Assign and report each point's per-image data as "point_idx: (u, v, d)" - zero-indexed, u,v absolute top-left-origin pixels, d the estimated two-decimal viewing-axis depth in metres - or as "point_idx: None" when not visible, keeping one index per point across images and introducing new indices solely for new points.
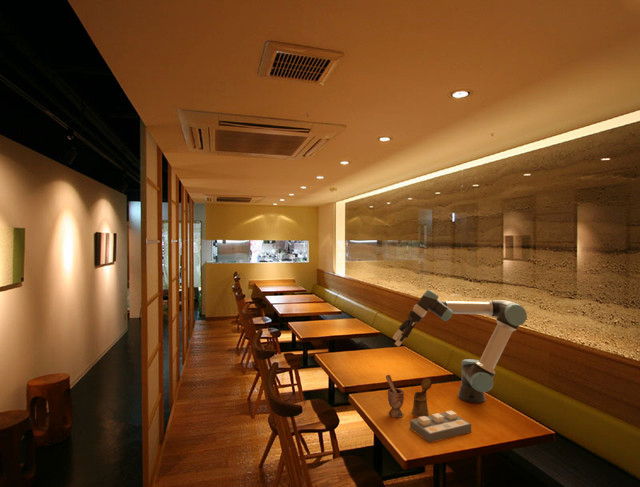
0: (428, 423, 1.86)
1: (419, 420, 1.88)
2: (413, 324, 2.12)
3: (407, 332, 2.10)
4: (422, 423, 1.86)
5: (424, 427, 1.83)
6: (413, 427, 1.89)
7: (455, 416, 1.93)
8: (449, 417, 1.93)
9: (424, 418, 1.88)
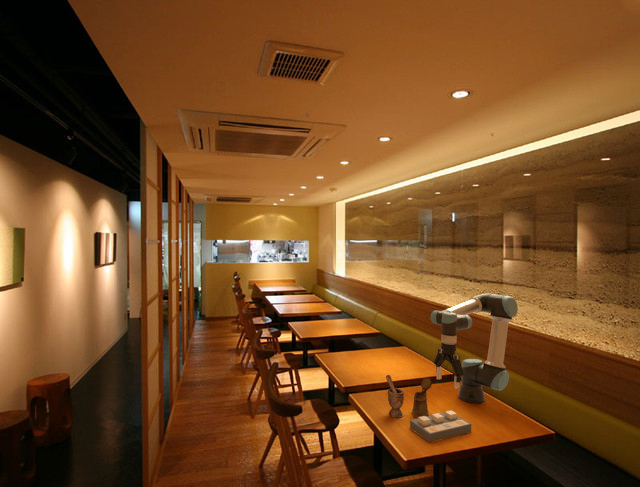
0: (428, 423, 1.86)
1: (419, 420, 1.88)
2: (458, 357, 1.89)
3: (460, 370, 1.87)
4: (422, 423, 1.86)
5: (424, 427, 1.83)
6: (413, 427, 1.89)
7: (455, 416, 1.93)
8: (449, 417, 1.93)
9: (424, 418, 1.88)
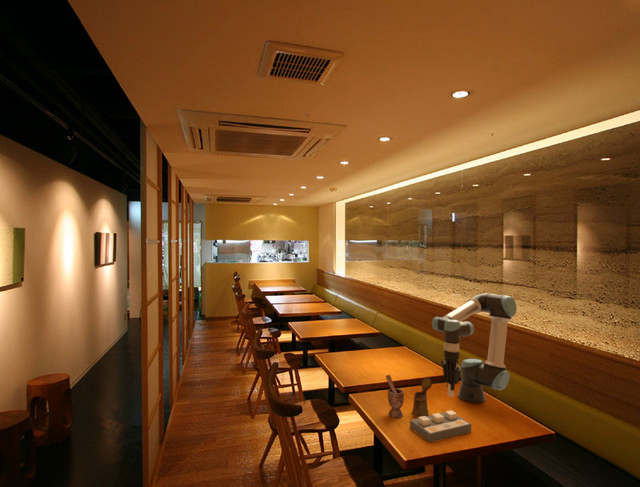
0: (428, 423, 1.86)
1: (419, 420, 1.88)
2: (460, 369, 1.89)
3: (456, 380, 1.90)
4: (422, 423, 1.86)
5: (424, 427, 1.83)
6: (413, 427, 1.89)
7: (455, 416, 1.93)
8: (449, 417, 1.93)
9: (424, 418, 1.88)
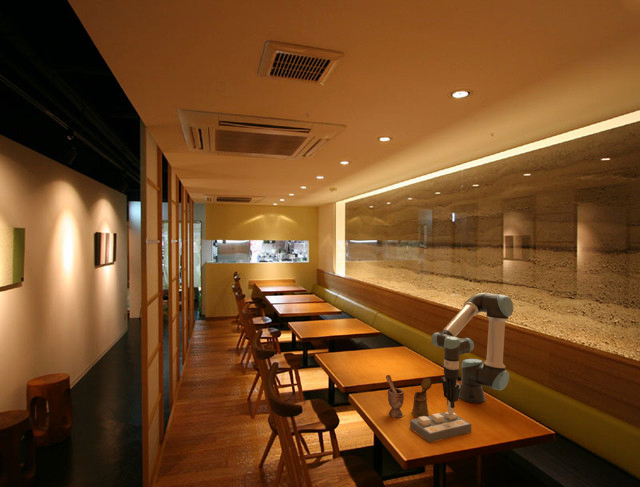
0: (428, 423, 1.86)
1: (419, 420, 1.88)
2: (459, 387, 1.89)
3: (456, 397, 1.90)
4: (422, 423, 1.86)
5: (424, 427, 1.83)
6: (413, 427, 1.89)
7: (455, 417, 1.93)
8: (449, 418, 1.93)
9: (424, 418, 1.88)
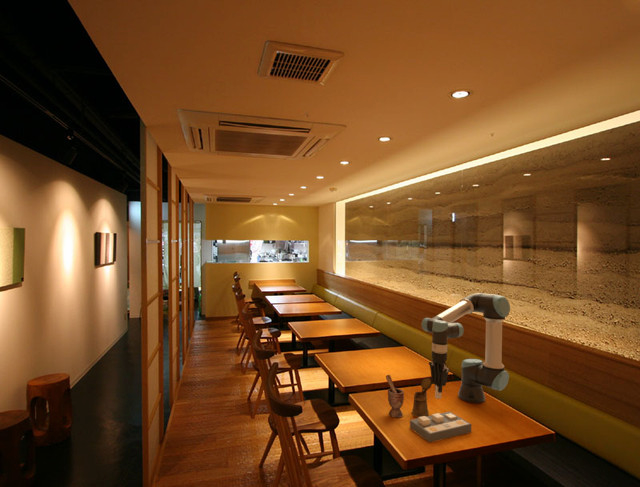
0: (428, 423, 1.86)
1: (419, 420, 1.88)
2: (447, 371, 1.86)
3: (444, 382, 1.87)
4: (422, 423, 1.86)
5: (424, 427, 1.83)
6: (413, 427, 1.89)
7: None
8: None
9: (424, 418, 1.88)
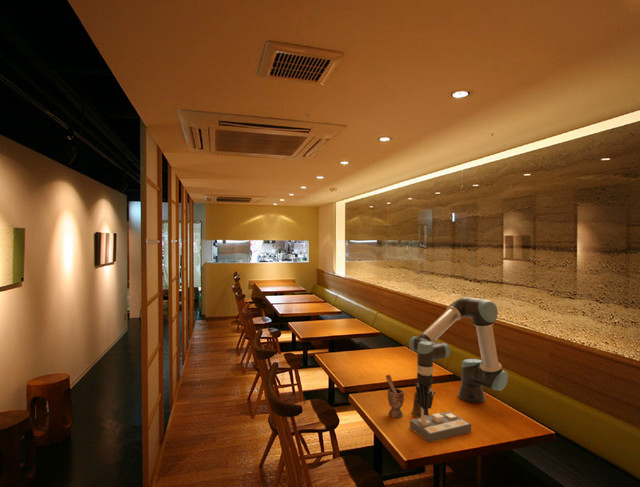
0: None
1: (419, 423, 1.88)
2: (432, 394, 1.82)
3: (429, 404, 1.84)
4: None
5: (424, 427, 1.83)
6: (413, 427, 1.89)
7: None
8: None
9: (424, 421, 1.88)
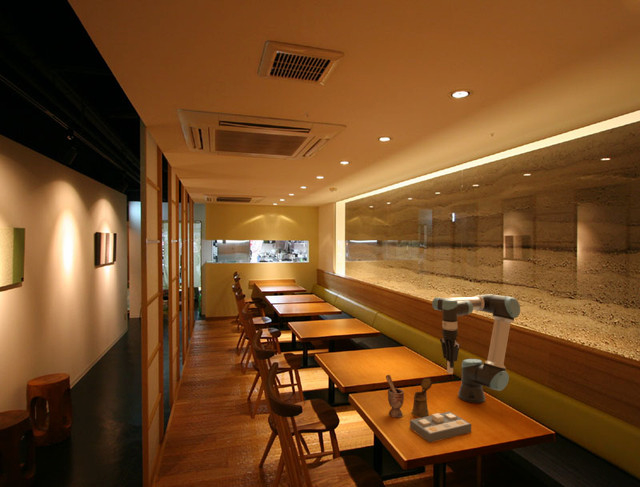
0: None
1: (419, 423, 1.88)
2: (458, 347, 1.93)
3: (455, 357, 1.94)
4: None
5: (424, 427, 1.83)
6: (413, 427, 1.89)
7: None
8: None
9: (424, 421, 1.88)
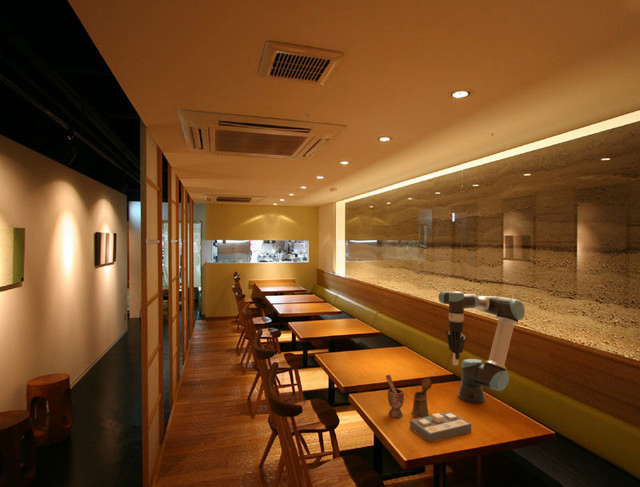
0: None
1: (419, 423, 1.88)
2: (464, 338, 1.95)
3: (461, 349, 1.97)
4: None
5: (424, 427, 1.83)
6: (413, 427, 1.89)
7: None
8: None
9: (424, 421, 1.88)
